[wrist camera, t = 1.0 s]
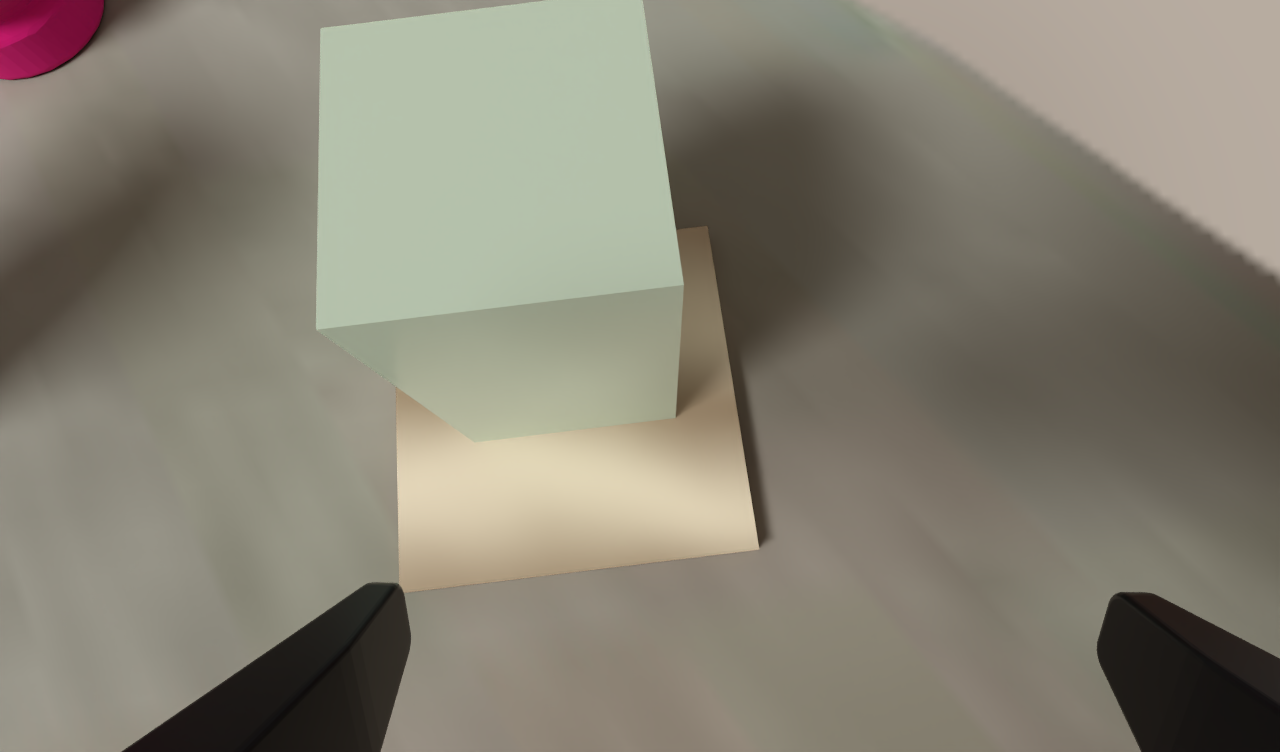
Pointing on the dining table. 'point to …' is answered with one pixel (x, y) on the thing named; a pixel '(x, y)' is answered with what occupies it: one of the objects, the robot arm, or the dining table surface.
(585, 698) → the dining table surface
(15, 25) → the pepper mill
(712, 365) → the board
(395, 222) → the pale green block
